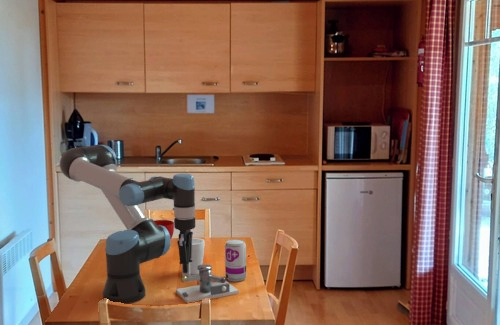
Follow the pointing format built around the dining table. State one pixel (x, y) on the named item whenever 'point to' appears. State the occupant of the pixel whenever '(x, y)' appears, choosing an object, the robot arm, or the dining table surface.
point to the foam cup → (196, 255)
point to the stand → (216, 291)
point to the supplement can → (235, 260)
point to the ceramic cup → (166, 225)
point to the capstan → (204, 278)
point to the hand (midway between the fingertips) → (186, 280)
